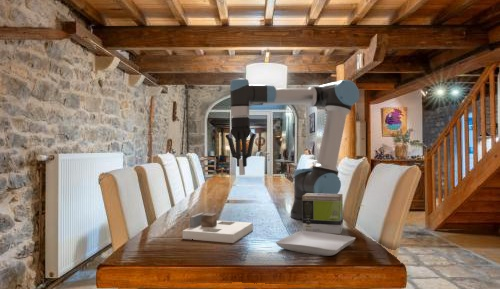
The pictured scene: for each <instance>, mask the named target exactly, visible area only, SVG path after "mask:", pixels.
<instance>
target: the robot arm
mask: <svg viewBox="0 0 500 289" xmlns="http://www.w3.org/2000/svg"><path fill="white" fill-rule="evenodd" d="M229 85H230V88H229V93H230V117H231V119H230V120H231V122H230V125H231V129H230V132H229V133H228V134H225V138H226V140H227V142H228V147H229V149H230V153H231V157H232V158H235V159H236V167H238V170H239V171H238V172H239V174H238V175H239V176H245V174H246V172H245V171H246V167H247V165H248V163H247V162H248V160H247V159H248V158H251V156H252V153H253V147H254V143H255V139H256V137H257V133H254V132H253V131H252V129H251V125H250V124H251V122H250V119H251V118H250V107H251V106H280V105H281V106H282V105H283V106H287V105H288V106H291V105H293V106H295V105H297V106H298V105H303V106H306V105H308V106H309V107H312V108H313V107H315V108H316V107H318V108H325V110H326V111H327V113H326V118H325V123H324V126H323V127H324V128H323V132H322V138H321V142H320V148H319V153H318V156H317V160H316V163H315V164H313V165H312V167H307V168H298V169H297V168H296V169H295V171H294V173H293V193H294V194H293V195H294V197H293V203H292V207H291V210H290V217H291V218H292V219H296V220H297V219H298V220H302V196H303V195H305V194H307V193H321V194H340V191H341V186H342V181H341V180H340V177H339V169H338V168H337V166H338V165H337V164H338V159H339V153H340V149H341V144H342V140H343V134H344V129H345V126H346V121H347V120H346V119H347V115H349V114H351V112H352V107H353V105H355V104H356V103H357V102H358V101H359V98H360V90H359V87H357V84H356V83H355V82H354V81H352V80H350V79H340V80H337V81H333V82H328V83H325V84H324V83H323V84H321V85H315V86H309V87H308V88H276V86H275V85H272V84H250V83H249V80H248V79H247V78H235V79H232V80H231V81H230V84H229ZM233 138H234V139H235V140H233ZM248 138H249V142H248V144H247V141H248V140H247V139H248ZM234 141H235V143H234ZM247 145H248V146H247Z"/></svg>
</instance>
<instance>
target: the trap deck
mask: <svg viewBox="0 0 500 289" xmlns="http://www.w3.org/2000/svg"><path fill="white" fill-rule="evenodd" d="M205 213H206V212H200V213H197V214H194V215H192V216H190V217H189V227H188V228H185V229H184V230H182V240H183V239H184V240H192V239H193V240H195V241H205V242H207V241H208V242H217V243H230V244H231V243H232V244H234V243H235V242H237V241H239V240H241V239H242V238H243V237H245V236H246V235H248V234H249V233H251V232H253V231H254V230H253V228H254V226H253V225H254V222H246V221H245V222H244V221H229V220H218V219H217V225H216V226H214V227H201V215H203V214H205Z"/></svg>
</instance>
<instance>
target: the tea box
mask: <svg viewBox="0 0 500 289" xmlns="http://www.w3.org/2000/svg"><path fill="white" fill-rule="evenodd" d="M343 199H344V198H343V194H342V193H338V194H321V193H307V194H305V195H303V196H302V219H301V220H302V223H301V226H302V231H306V232H317V233H327V234H335V235H341V233H342V232H343V228H344V215H343V214H344V210H343V209H344V207H343V206H344V203H343Z"/></svg>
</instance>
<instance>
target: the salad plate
mask: <svg viewBox="0 0 500 289" xmlns="http://www.w3.org/2000/svg"><path fill="white" fill-rule="evenodd" d="M355 240H356V237H354V236H349V235H341V234H332V233H317V232H306V231H303V230H300V231H297V232H295V233H292V234H290V235H288V236H285V237H284V238H281V239H279V240H277V241H276V242H275V244H276V245H277V246H278V247H280V248H281V249H283V250H284V249H285V250H288V251H290V252H297V253H304V254H310V255H315V256H316V255H317V256H324V257H325V256H326V257H329V256H330V257H331V256H334V255H336V254H338V253H339V252H341V251H342V250H343V249H344V248H347V247H348V246H349V245H352V244H353V243H354V242H355Z"/></svg>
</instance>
